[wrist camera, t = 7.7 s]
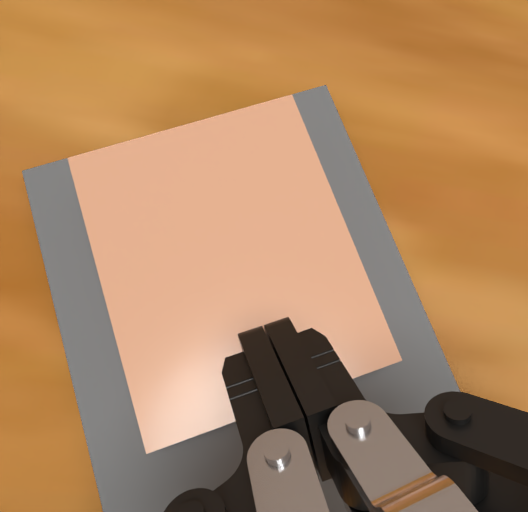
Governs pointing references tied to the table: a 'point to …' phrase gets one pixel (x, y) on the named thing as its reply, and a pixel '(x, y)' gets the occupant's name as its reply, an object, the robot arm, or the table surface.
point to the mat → (227, 437)
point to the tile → (220, 258)
